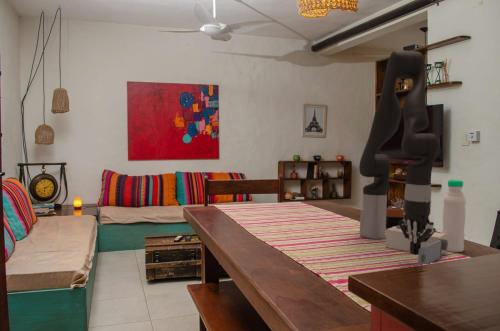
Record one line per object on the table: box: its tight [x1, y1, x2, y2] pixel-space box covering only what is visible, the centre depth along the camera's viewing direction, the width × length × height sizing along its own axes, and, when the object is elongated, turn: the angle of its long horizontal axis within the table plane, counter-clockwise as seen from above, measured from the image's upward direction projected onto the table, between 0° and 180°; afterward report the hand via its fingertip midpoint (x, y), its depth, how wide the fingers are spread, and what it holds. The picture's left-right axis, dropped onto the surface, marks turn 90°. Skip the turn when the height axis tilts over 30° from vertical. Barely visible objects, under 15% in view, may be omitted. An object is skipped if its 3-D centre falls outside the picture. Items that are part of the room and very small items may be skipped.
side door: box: [417, 239, 443, 266], centre depth 127 cm, size 18×2×6 cm, turn 136°
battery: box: [386, 205, 405, 229], centre depth 178 cm, size 4×7×10 cm, turn 87°
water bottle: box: [441, 179, 467, 253], centre depth 142 cm, size 7×7×25 cm
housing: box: [385, 226, 448, 255], centre depth 142 cm, size 19×8×7 cm, turn 49°
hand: (414, 254), depth 124 cm, fingers closed
